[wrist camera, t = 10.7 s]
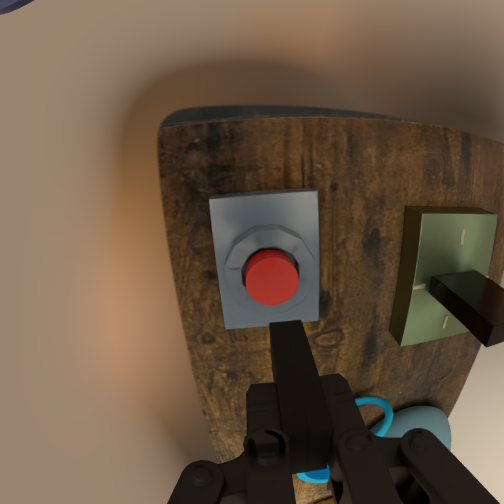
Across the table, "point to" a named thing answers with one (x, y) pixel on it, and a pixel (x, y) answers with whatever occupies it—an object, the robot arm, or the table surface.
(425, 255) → the dial panel
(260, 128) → the table surface
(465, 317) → the black slab
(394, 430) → the sugar bowl
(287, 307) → the button housing
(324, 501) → the bagel
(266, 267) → the button
